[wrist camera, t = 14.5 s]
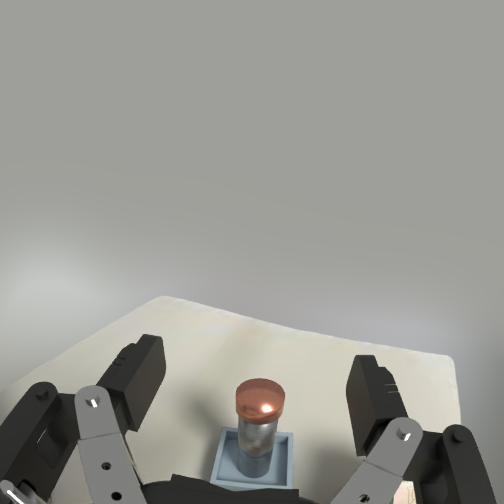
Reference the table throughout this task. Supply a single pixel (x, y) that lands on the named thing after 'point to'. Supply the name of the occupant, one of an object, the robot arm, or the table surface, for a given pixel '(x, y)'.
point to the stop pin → (257, 424)
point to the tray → (233, 480)
